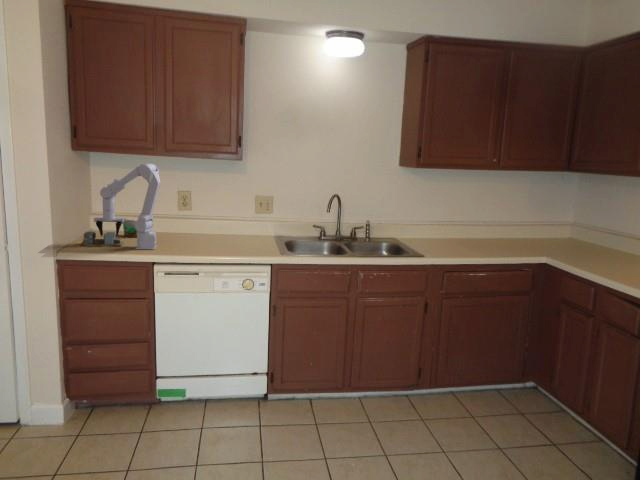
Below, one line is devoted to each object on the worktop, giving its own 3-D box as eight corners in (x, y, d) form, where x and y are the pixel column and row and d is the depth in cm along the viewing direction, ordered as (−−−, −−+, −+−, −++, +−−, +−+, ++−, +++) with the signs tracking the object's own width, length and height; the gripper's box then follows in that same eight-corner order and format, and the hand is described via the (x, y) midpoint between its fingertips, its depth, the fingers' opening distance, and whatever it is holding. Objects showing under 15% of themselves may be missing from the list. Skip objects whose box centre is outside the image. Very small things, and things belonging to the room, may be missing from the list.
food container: (117, 236, 282) (116, 219, 280) (125, 234, 287) (125, 217, 285) (132, 239, 276) (132, 221, 274) (140, 237, 281) (140, 220, 279)
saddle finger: (115, 241, 262) (115, 231, 261) (112, 244, 256) (112, 234, 255) (106, 241, 261) (106, 231, 260) (103, 244, 255) (103, 234, 254)
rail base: (123, 243, 264) (123, 231, 263) (120, 246, 257) (120, 234, 255) (83, 243, 260) (83, 231, 259) (79, 246, 252) (79, 233, 251)
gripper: (124, 209, 261) (125, 234, 263) (95, 208, 258) (96, 233, 260) (122, 211, 254) (123, 236, 257) (92, 210, 251) (93, 236, 254)
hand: (109, 235), depth 258 cm, fingers open, 7 cm apart
